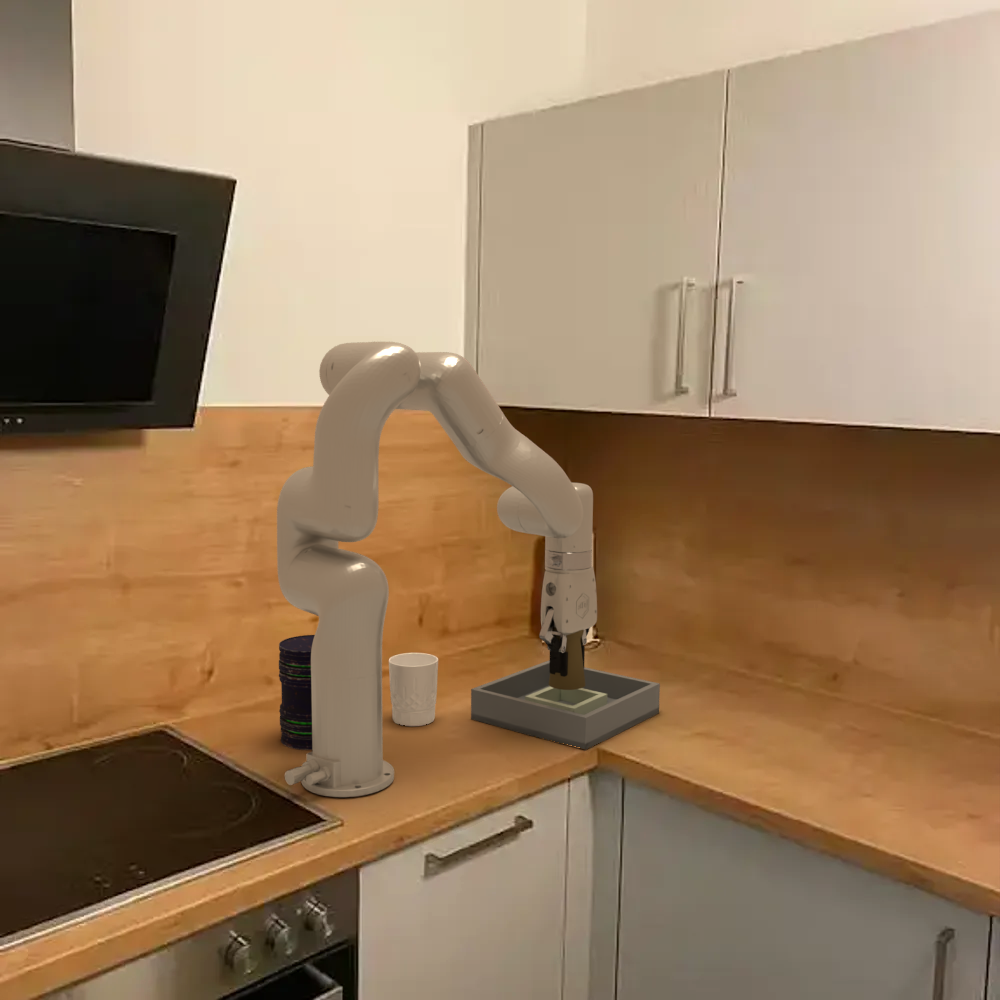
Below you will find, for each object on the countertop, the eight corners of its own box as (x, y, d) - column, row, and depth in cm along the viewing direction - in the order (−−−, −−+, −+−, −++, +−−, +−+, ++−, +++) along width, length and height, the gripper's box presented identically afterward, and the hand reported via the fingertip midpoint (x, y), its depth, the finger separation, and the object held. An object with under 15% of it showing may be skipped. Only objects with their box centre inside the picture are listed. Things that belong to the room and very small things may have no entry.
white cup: (444, 724, 166) (444, 663, 164) (396, 730, 163) (396, 668, 161) (429, 709, 173) (429, 650, 172) (383, 715, 170) (383, 655, 169)
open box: (585, 750, 155) (585, 717, 154) (471, 719, 168) (471, 689, 167) (659, 713, 172) (659, 683, 171) (550, 687, 185) (550, 659, 185)
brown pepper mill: (583, 691, 166) (584, 623, 164) (545, 688, 167) (546, 621, 166) (587, 680, 172) (588, 614, 170) (551, 677, 173) (552, 612, 171)
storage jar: (286, 753, 152) (284, 654, 151) (274, 732, 162) (272, 637, 160) (353, 745, 156) (352, 647, 154) (337, 724, 165) (336, 632, 163)
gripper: (557, 571, 158) (556, 688, 160) (616, 555, 171) (614, 664, 173) (518, 565, 163) (517, 679, 165) (578, 550, 176) (576, 656, 178)
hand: (566, 670), depth 169 cm, fingers closed on brown pepper mill, 4 cm apart
